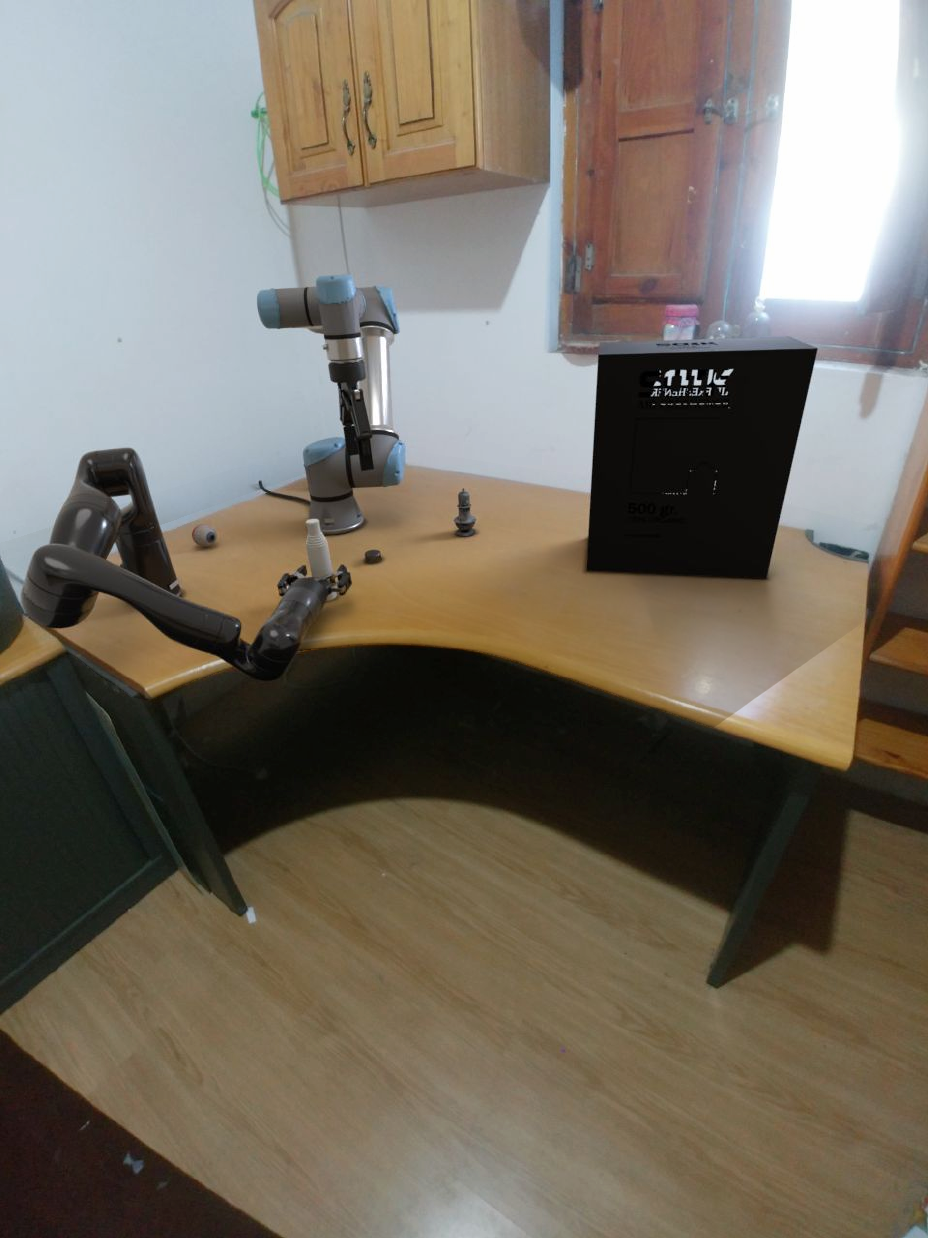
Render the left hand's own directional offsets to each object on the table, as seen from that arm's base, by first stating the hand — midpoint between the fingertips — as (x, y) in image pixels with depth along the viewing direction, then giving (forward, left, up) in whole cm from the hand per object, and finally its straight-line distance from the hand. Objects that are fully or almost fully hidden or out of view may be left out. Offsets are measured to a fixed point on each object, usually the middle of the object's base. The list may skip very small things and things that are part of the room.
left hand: (324, 568), depth 130 cm
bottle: (0, -2, -6) cm, 6 cm away
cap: (+7, +17, -4) cm, 19 cm away
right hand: (+7, +17, +18) cm, 26 cm away
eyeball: (-41, +27, -6) cm, 49 cm away
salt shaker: (+28, +33, -6) cm, 44 cm away
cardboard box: (+77, +16, -6) cm, 79 cm away
